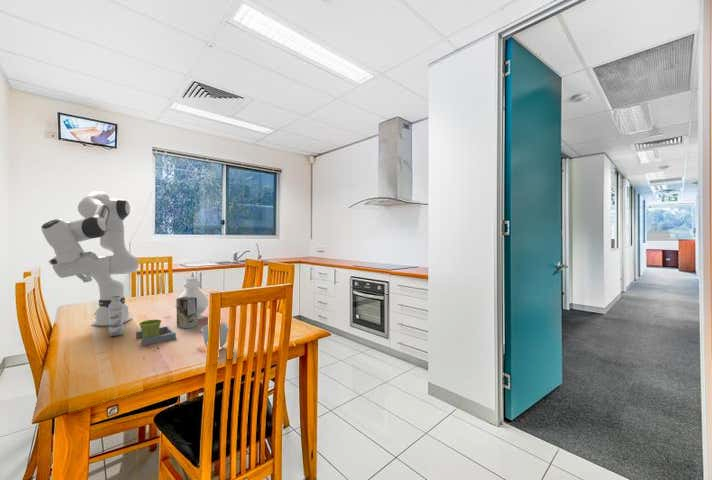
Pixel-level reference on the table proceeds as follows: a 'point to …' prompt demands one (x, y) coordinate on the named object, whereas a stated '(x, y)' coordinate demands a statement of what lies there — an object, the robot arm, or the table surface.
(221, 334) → the teacup
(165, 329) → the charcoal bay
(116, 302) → the plastic bottle
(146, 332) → the plant pot
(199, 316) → the decorative vase
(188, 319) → the coffee box
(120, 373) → the table surface
